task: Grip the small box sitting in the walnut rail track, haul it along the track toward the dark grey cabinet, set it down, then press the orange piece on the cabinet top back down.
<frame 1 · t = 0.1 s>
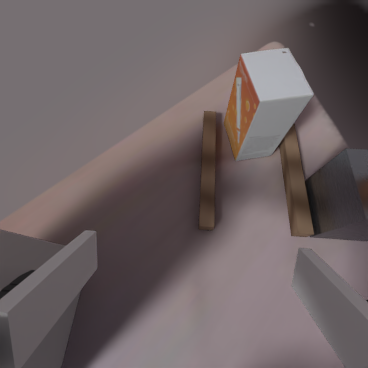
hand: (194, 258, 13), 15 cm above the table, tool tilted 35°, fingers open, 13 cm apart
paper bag: (20, 344, 25), on the table
cabinet: (333, 211, 30), on the table
small box: (245, 140, 36), on the table
track: (248, 170, 33), on the table
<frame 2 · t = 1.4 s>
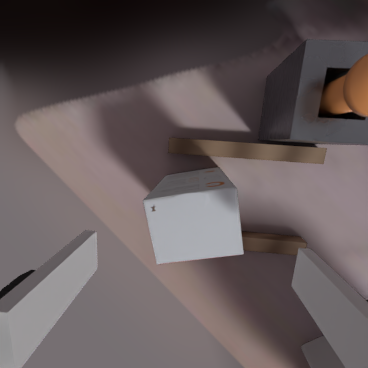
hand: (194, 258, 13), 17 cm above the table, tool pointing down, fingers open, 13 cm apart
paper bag: (366, 367, 35), on the table
orange piece: (349, 93, 17), point 10 cm above the table, slide at 0.0 cm
cabinet: (293, 111, 27), on the table
small box: (195, 191, 31), on the table
track: (236, 195, 30), on the table
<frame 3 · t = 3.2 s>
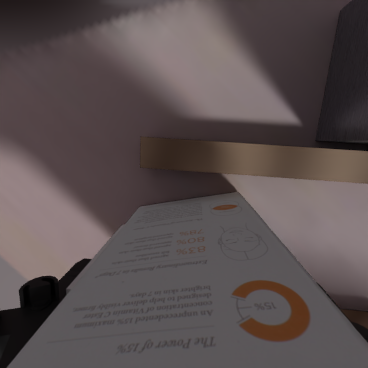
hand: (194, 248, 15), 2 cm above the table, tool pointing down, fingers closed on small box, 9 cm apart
small box: (194, 234, 17), on the table, touching gripper
track: (270, 241, 16), on the table
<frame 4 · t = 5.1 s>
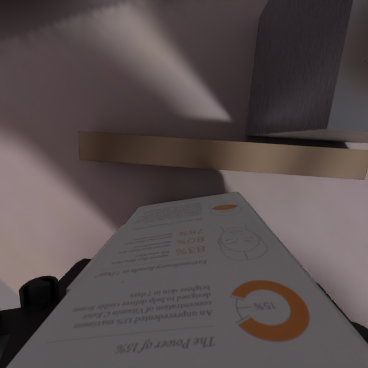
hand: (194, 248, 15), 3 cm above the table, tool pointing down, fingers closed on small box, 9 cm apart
cabinet: (307, 82, 15), on the table
small box: (194, 234, 17), point 1 cm above the table, touching gripper
track: (209, 230, 18), on the table
when the fingers open (2 cm above the table, at t = 7.0 s): small box stays where it is, on the table.
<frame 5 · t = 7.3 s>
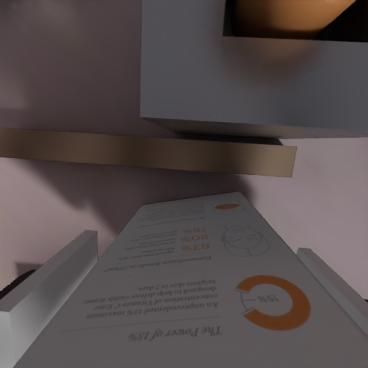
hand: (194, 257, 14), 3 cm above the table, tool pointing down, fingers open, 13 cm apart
cabinet: (235, 76, 14), on the table
small box: (196, 233, 17), on the table
track: (145, 230, 17), on the table
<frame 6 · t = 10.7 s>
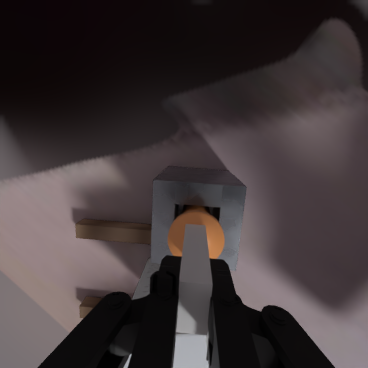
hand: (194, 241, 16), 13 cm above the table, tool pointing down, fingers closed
orange piece: (195, 223, 19), point 9 cm above the table, slide at -1.2 cm, touching gripper
cabinet: (196, 197, 28), on the table
small box: (177, 272, 31), on the table
track: (150, 271, 31), on the table
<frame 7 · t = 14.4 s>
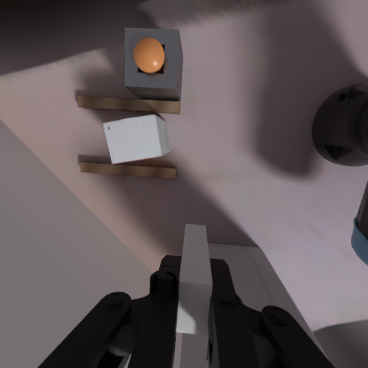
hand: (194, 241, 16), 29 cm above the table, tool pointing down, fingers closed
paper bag: (235, 267, 49), on the table
orange piece: (153, 63, 33), point 8 cm above the table, slide at -2.3 cm
cabinet: (161, 78, 41), on the table
small box: (150, 139, 44), on the table
track: (130, 138, 44), on the table
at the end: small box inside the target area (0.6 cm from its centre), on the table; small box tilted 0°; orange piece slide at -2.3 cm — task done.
